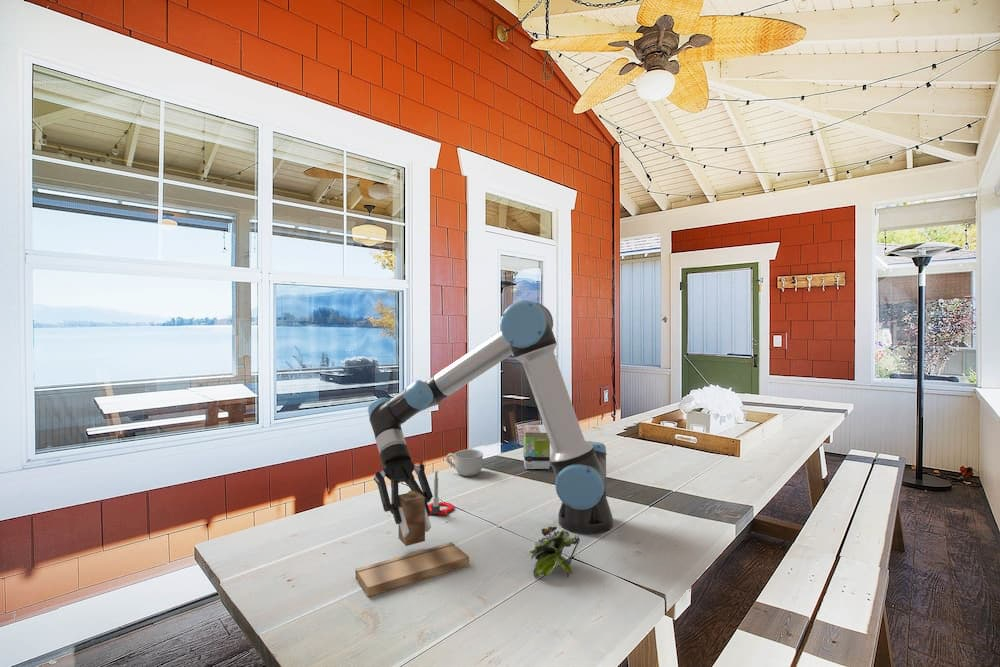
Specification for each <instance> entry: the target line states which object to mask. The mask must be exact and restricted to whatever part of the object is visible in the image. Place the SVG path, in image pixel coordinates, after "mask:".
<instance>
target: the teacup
mask: <svg viewBox="0 0 1000 667" xmlns="http://www.w3.org/2000/svg"><path fill="white" fill-rule="evenodd" d="M450 457H453V460H454V463H453V462H452V461H451V460H450ZM483 457H484V453H483V451H481V450H477V449H472V448H471V449H469V448H468V449H462V450H458V451H456V452H455V453H453V452H450V453H448V454H447V455H446V457H445V459H446V462H447V463H448V464H449V465H450V466H451V467H452V468H454V469H455V470H456V472H457V473H458V474H459V475H460V476H462V477H474V476H477V475H479V473H480V472H481V471H482V469H483V462H484V461H483V459H484V458H483Z"/></svg>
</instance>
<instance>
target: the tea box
mask: <svg viewBox="0 0 1000 667" xmlns="http://www.w3.org/2000/svg"><path fill="white" fill-rule="evenodd" d="M550 452H551V444H550V441H549V438H548V435H547V432H546V429H545V427H544V424H524V425H523V464H524V465H523V466H524V469H525V470H527V469H544V468H545V469H549V468H550V465H551V462H550V457H551V453H550ZM550 469H551V468H550ZM550 469H549V470H550Z"/></svg>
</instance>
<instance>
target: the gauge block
mask: <svg viewBox="0 0 1000 667" xmlns="http://www.w3.org/2000/svg"><path fill="white" fill-rule="evenodd" d="M398 499H399V506H398V508H400V507H402V509H403V512H404V516H405V519H406V523H407V526H408V530H409V533H408V535H407V537H405V538H403V535H402V531H401V527H400V524H397V526H398V540H399V541H400V542H401V543H402V544H403V545H404V546H405V547H409V546H411V545H416V544H419V543H423V542H426V532H425V497H424V496H422V495H421V494H420V493H418V492H417V491H416V492H415V491H411V490H409V491H407V493H401V494H398Z"/></svg>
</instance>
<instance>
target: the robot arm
mask: <svg viewBox="0 0 1000 667" xmlns="http://www.w3.org/2000/svg"><path fill="white" fill-rule="evenodd" d="M553 327H554V318H553V316H552V313H551V312H550V310H549V309H548V308H547V307H546V306H544V305H543V304H541V303H539V302H535V301H532V300H525V299H523V300H519V301H516V302H514V303H513V302H512V304H510V305H508V306H507V308H505V310H504V311H503V312H502V315H501V318H500V321H499V328H500V330H499V331H498V332H497V333H495V334H494V335H492V336H491V337H489V338H488V339H486V340H485V341H483V342H482V343H480V344H478V345H477V346H476V347H475V348H473V349H471V350H470V351H469V352H467V353H466V354H464V355H463V356H461V357H460V358H458V359H457V360H455V361H454V362H453V363H451V364H450V365H448V366H446V367H445V368H443V369H442V370H441V371H439V372H437V373H436V374H434V375H433V376H432V377H430V378H428V379H427V380H426V381H422V380H421V379H417V380H414V381H413V382H412V383H410V384H408V385H407V386H406V387H405V388H404V389H403V390H401V391H400V392H398V393H397V394H396V395H395V396H394V397H392V398H389V397H380V398H378V399H375V400H373V401H372V402H371V403H370V404H369V405H368V408H367V412H368V417H369V423H370V426H371V429H372V431H373V434H374V439H375V443H376V446H377V450H378V453H379V458H380V462H381V465H382V470H381V471H376V472H375V475H374V477H373V480H374V482H375V483H376V485H377V488H378V491H379V495H380V500H381V504H382V508H383V511H384V512H386V513H388V512H390V513H391V514H392V515H393V518H394V522H395V523H394V524H396V525H398V524H400V527H401V531H402V535H403V538H405V537H407V535H408V533H409V530H408V526H407V523H406V519H405V516H404V512H403V509H402V507H400V508H398V506H399V499H398V495H399V484H401V483H405V484H406V485H407V487H408V488H409V489H410V491H415V492H416V491H417V492H418V493H420V494H421V495H422V496H424V497H425V533H428V532H429V531H430V530H431V528H432V524H431V521H430V518H429V517H430V516H431V515H430V510H429V507H428V505H429V504H430V502H431V501H432V500H433V497H434V494H433V493H432V490H431V489H432V488H431V487H430V484H429V482H428V478H427V475H426V473H425V470H426V469H425V467H426V466H425V465H424V464H420V465H416V464H415V463H414V462H413V461H412V458H411V454H410V451H409V448H408V446H407V442H406V438H405V435H404V432H403V429H402V425H403V424H404V423H406V422H407V421H409V420H410V419H411V418H412V417H414V416H415V415H417V414H418V413H420V412H422V411H425V410H427V409H429V408H431V407H435V406H437V405H439V404H441V402H443V401H444V400H445V399H446V398H448V397H449V396H450V395H452V394H454V393H456V392H457V391H458V390H460V389H461V388H463V387H464V386H466V385H467V384H469V383H470V382H472V381H473V380H475V379H476V378H478V377H479V376H481V375H482V374H484V373H485V372H487V371H488V370H490V369H492V368H493V367H495V366H496V365H498V364H499V363H501V362H502V361H504V360H505V359H507V358H508V357H510V356H512V355H513V358H514V359H515V360H517V361H518V362H520V363H521V364H522V365H523V368H524V371H525V374H526V377H527V380H528V383H529V386H530V389H531V392H532V395H533V397H534V400H535V404H536V406H537V409H538V412H539V414H540V418H541V420H542V425H544V427H545V429H546V432H547V435H548V438H549V441H550V448H551V449H552V450H551V451H552V453H551V454H550V465H551V467H552V470H553V474H554V476H555V480H554V482H555V483H554V484H555V485H554V486H555V491H556V494H557V496H558V498H559V500H560V501H561V504H560V508H559V510H558V516H557V517H558V519H557V520H558V521H559V522H558V524H559V526H560V525H561V527H562V529H565V530H566V529H567V530H566V531H570V532H572V533H576V532H577V533H576V534H584V535H597V534H602V533H605V532H607V531H610V530H611V529H612V528H613V526H614V525H613V524H614V522H613V519H614V517H613V514H612V511H611V508H610V505H609V501H608V498H607V456H608V455H607V454H608V453H607V450H606V449H607V448H606V445H605V444H604V443H602V442H599V441H591V440H585V438H584V435H583V432H582V428H581V426H580V423H579V420H578V417H577V414H576V412H575V409H574V406H573V404H572V400H571V398H570V394H569V392H568V389H567V386H566V383H565V381H564V378H563V375H562V372H561V370H560V367H559V363H558V360H557V358H556V354H555V349H556V348H557V345H558V342H557V341H556V337H555V334H554V331H553ZM413 472H415V474H416V475H417V479H418V482H419V483H417V481H416V479H415V475H414V474H413ZM385 478H387V479H388V480H390V488H391V492H390V493H391V494H390V495H391V498H390V496H389V491H388V488H387V484H386V481H385ZM419 484H420V485H419ZM428 503H429V504H428Z"/></svg>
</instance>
